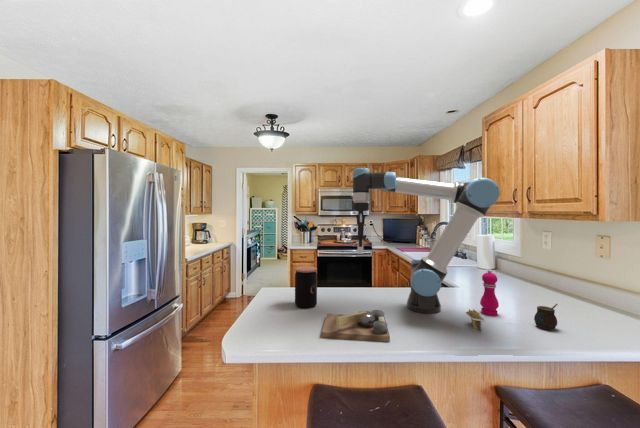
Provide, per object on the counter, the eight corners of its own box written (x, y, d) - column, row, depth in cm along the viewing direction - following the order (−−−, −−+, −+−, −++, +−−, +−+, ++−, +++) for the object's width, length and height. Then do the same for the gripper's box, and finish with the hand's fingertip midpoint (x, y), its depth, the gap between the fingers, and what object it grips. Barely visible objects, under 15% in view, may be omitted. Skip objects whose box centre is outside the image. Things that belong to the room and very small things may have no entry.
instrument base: (384, 321, 119) (384, 309, 119) (389, 342, 100) (389, 327, 100) (327, 318, 122) (327, 306, 122) (321, 337, 103) (321, 323, 103)
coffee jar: (314, 309, 133) (314, 271, 133) (292, 308, 135) (292, 270, 135) (318, 302, 143) (319, 266, 143) (298, 301, 145) (298, 265, 145)
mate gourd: (529, 324, 117) (530, 299, 117) (548, 324, 117) (548, 300, 117) (542, 331, 110) (543, 305, 110) (562, 332, 110) (563, 306, 110)
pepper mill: (478, 313, 129) (478, 269, 129) (482, 309, 135) (482, 267, 134) (496, 317, 124) (497, 271, 124) (500, 313, 130) (500, 269, 130)
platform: (467, 336, 106) (467, 318, 106) (450, 318, 124) (450, 303, 124) (501, 338, 105) (501, 320, 105) (479, 319, 123) (479, 304, 123)
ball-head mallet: (367, 319, 116) (367, 307, 116) (378, 325, 110) (379, 312, 109) (332, 327, 107) (332, 314, 107) (343, 334, 101) (343, 320, 101)
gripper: (352, 202, 138) (352, 251, 139) (352, 201, 125) (351, 255, 126) (368, 202, 137) (368, 251, 138) (369, 201, 125) (369, 255, 125)
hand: (360, 253), depth 132 cm, fingers closed
